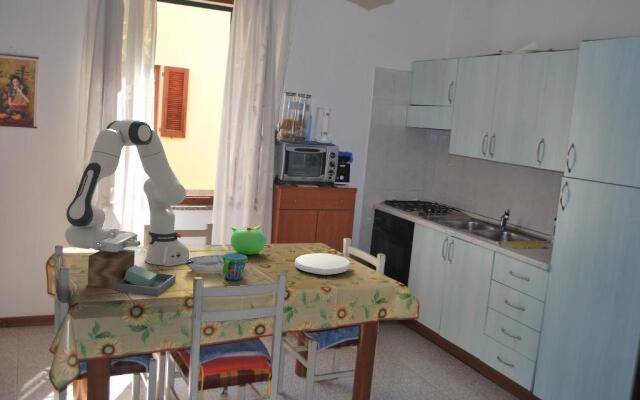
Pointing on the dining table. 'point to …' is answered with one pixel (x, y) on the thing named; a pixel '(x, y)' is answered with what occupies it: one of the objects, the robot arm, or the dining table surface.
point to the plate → (322, 263)
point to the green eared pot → (248, 240)
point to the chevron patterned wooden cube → (109, 267)
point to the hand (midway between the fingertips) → (138, 244)
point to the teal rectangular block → (140, 276)
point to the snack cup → (234, 265)
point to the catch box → (155, 289)
